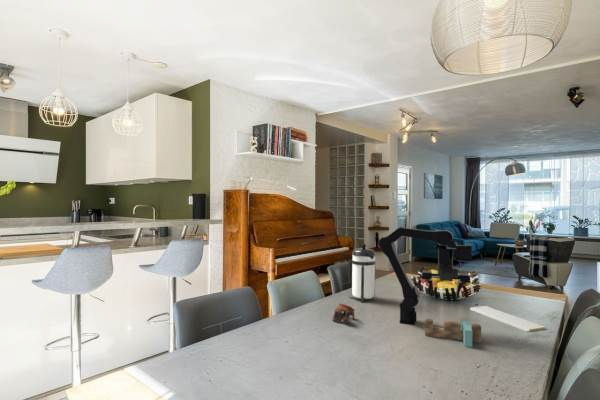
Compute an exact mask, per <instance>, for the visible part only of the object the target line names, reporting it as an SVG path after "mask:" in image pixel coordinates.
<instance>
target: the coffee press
mask: <svg viewBox="0 0 600 400" xmlns="http://www.w3.org/2000/svg"><path fill="white" fill-rule="evenodd" d="M366 247H367V245H366V243H362V244H361V247H358V248H355V249H353V251H352V253H351V255H352V258H350V259H349V261H348V267H347V269H348V271H347V276H348V277H347V278H348V283H349V284H350V286H351V292H350V293H351V294H350V295H349V299H352V298H357V299H360V303H364V300H368V299H373V300H375V301H377V300H378V297H377V296H376V255H377V254H376V252H375V250H374V249H372V248H369V247H368V248H366ZM351 295H352V296H351ZM375 298H376V299H375Z"/></svg>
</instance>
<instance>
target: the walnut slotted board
mask: <svg viewBox="0 0 600 400" xmlns="http://www.w3.org/2000/svg"><path fill="white" fill-rule="evenodd" d="M471 329H472V343H473V342H474V343H479V344H481V343H482V325H481V324H477V323H472V324H471ZM424 336H426V337H435V338H440V337H442V338H441V339H448V338H449V339H450V340H455V339H457V340H456V341H463V331H462V330H461V321H460V322H459V321H451V320H443V327H437V326H434V319H432V318H424ZM449 339H448V340H449Z"/></svg>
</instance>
